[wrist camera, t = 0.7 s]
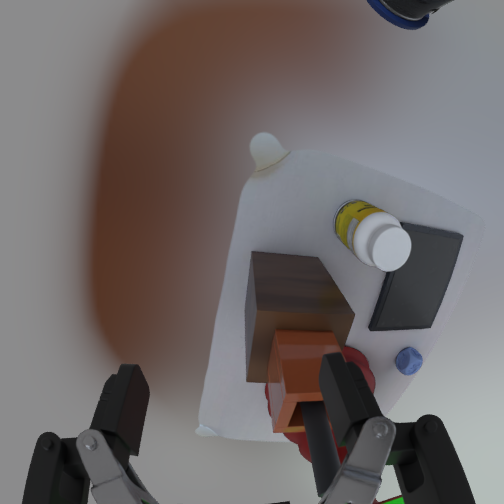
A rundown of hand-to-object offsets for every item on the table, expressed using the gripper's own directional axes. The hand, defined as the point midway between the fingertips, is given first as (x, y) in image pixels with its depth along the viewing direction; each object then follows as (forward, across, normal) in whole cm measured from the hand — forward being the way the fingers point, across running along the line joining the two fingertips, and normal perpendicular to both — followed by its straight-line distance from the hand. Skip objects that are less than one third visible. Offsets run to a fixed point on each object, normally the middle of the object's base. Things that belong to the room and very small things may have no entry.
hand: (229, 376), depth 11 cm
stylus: (+10, -6, +10) cm, 15 cm away
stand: (+24, -6, +10) cm, 27 cm away
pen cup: (+10, -6, +10) cm, 15 cm away
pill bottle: (+24, -16, +2) cm, 29 cm away
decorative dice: (+22, -31, +29) cm, 48 cm away
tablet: (+23, -29, +12) cm, 39 cm away
